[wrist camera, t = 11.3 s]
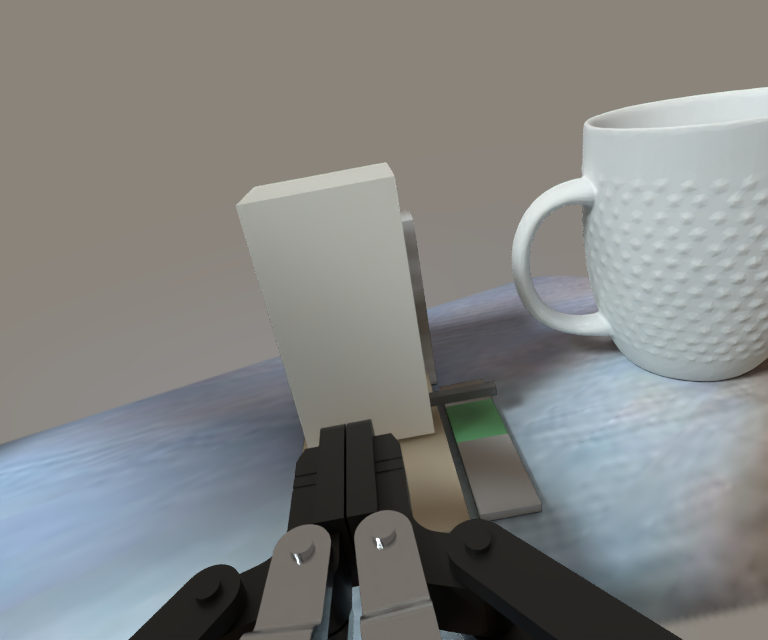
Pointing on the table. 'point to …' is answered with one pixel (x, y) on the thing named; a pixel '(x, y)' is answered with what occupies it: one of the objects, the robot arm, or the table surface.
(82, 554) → the table surface
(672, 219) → the mug
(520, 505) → the gauge base
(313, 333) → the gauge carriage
